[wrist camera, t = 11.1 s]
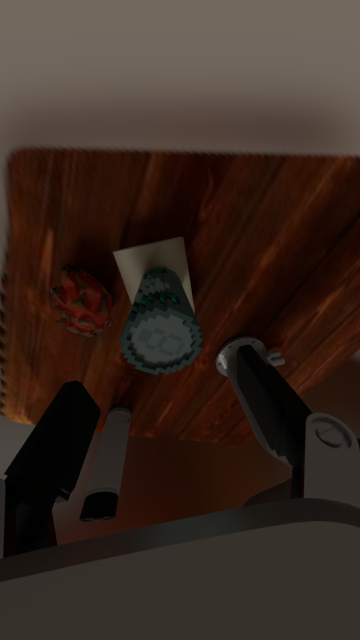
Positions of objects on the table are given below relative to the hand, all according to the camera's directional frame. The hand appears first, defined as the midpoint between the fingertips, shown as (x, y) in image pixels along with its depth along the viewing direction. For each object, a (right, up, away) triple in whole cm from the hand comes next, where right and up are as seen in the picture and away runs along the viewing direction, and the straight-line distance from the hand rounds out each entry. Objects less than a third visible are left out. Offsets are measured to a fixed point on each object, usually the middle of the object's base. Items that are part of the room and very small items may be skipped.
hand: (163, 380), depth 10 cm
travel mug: (-16, -23, +36) cm, 46 cm away
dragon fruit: (-15, +8, +19) cm, 26 cm away
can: (-2, +9, +16) cm, 18 cm away
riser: (-3, +11, +19) cm, 22 cm away
